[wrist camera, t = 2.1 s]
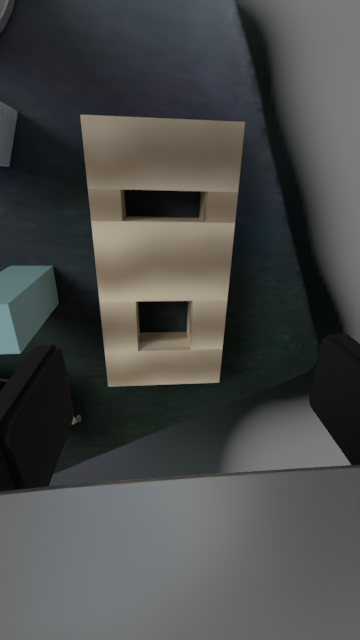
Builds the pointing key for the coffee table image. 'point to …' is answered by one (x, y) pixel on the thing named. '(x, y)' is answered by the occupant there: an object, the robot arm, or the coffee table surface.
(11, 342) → the square peg
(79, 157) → the coffee table surface
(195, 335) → the bore board
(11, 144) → the medicine box
